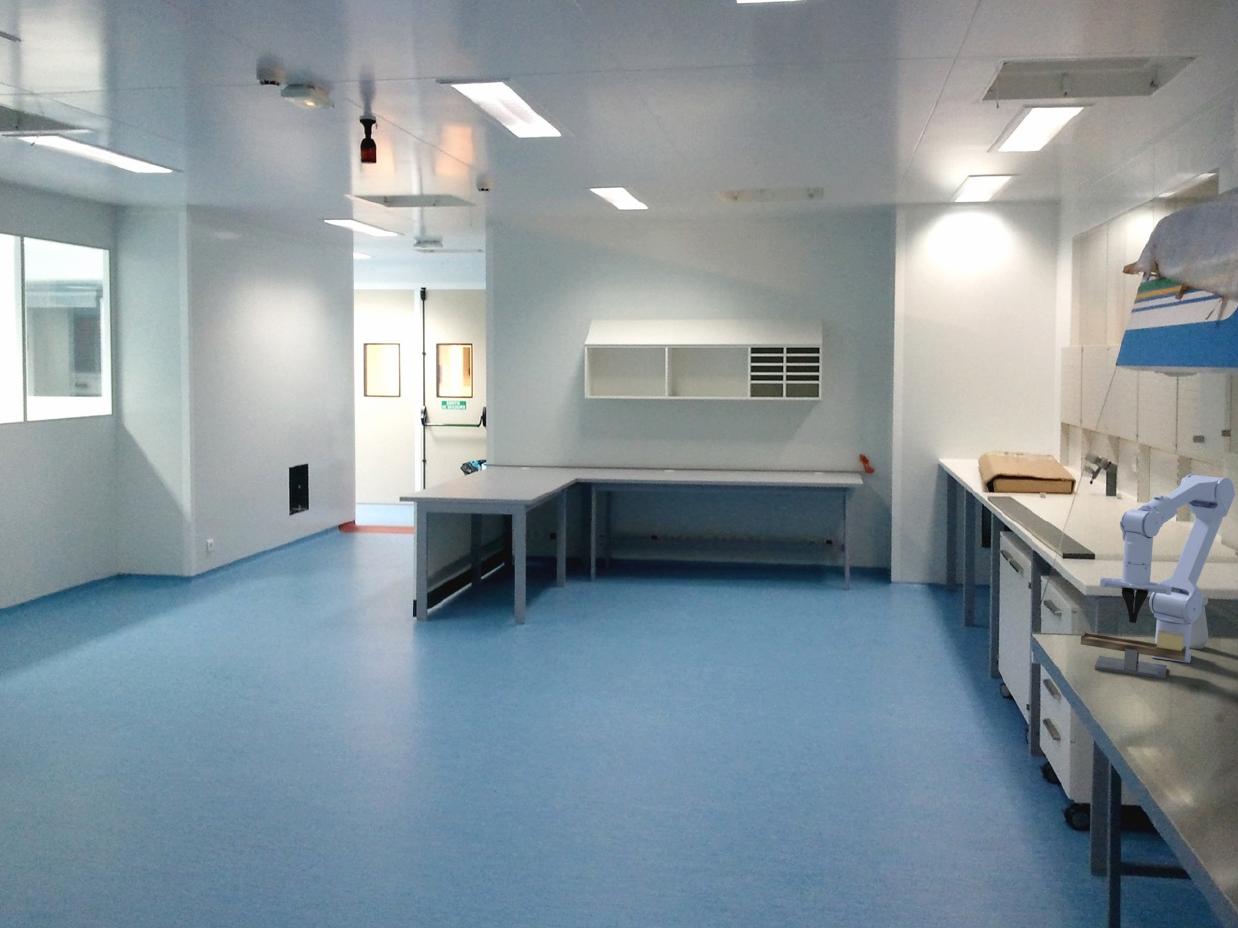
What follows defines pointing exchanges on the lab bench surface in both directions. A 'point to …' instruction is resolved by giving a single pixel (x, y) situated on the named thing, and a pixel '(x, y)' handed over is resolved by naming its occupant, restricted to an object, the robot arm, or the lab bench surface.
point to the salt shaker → (1199, 629)
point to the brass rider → (1170, 641)
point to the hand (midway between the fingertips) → (1132, 621)
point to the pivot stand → (1131, 665)
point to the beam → (1129, 646)
